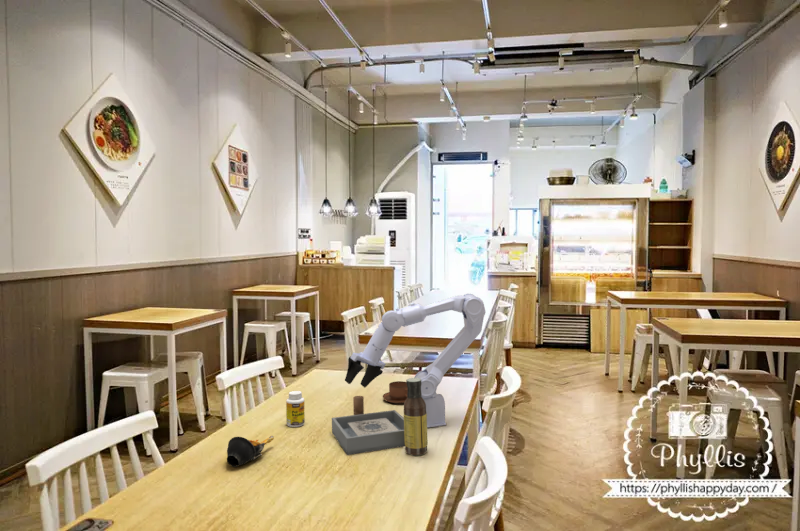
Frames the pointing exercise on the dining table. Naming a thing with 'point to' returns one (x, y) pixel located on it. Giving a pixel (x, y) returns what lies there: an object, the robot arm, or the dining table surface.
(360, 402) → the peg
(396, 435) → the open box
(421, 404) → the sauce bottle
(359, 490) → the dining table surface
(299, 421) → the supplement bottle
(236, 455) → the fried shrimp in bowl
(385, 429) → the bored plate
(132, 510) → the dining table surface
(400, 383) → the cup and saucer
